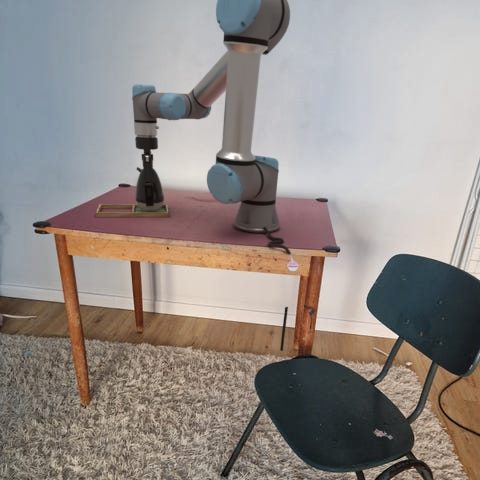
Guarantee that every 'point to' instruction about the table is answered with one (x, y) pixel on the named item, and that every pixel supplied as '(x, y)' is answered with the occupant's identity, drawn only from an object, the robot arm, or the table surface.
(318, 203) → the table surface
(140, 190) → the pump dispenser
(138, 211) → the divided wooden tray
